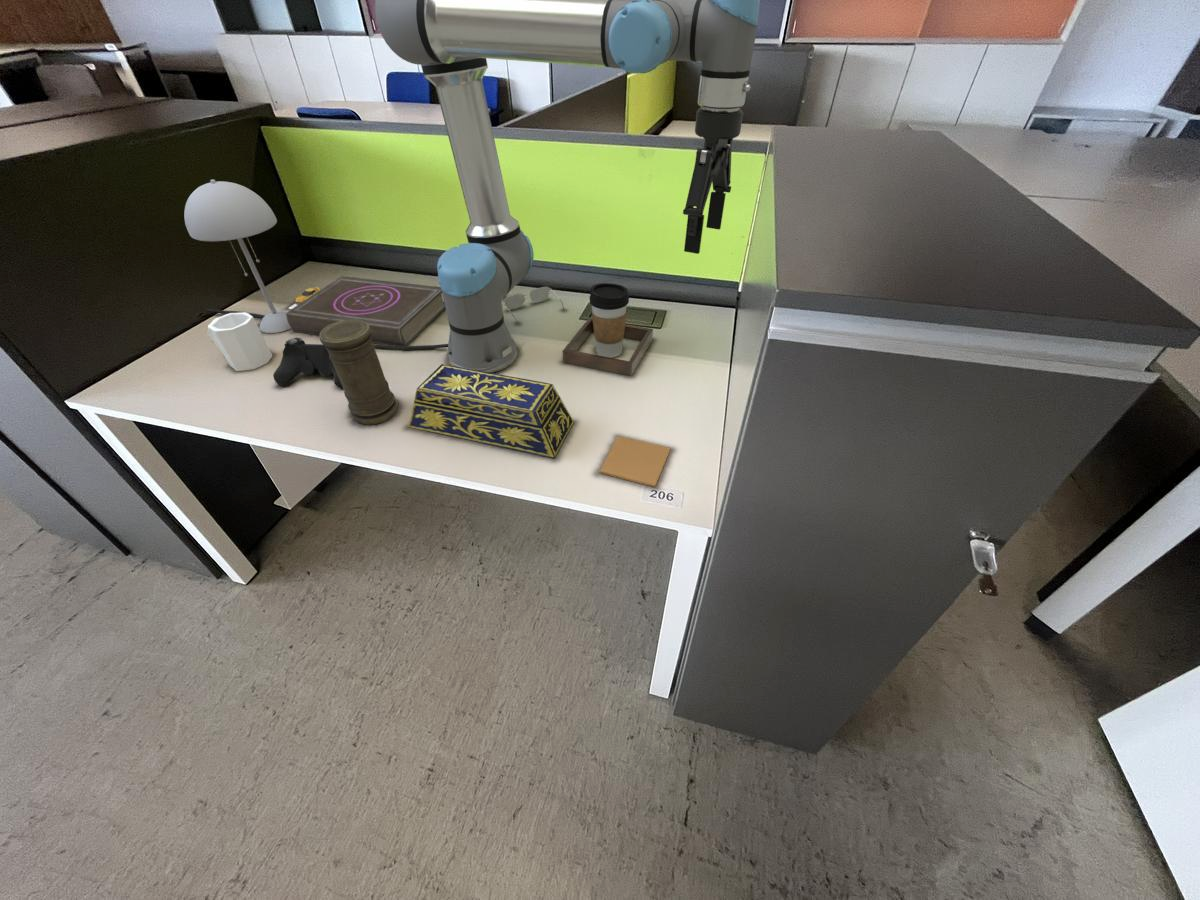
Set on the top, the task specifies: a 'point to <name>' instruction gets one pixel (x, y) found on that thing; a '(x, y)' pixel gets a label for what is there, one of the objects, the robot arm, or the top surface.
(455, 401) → the decorative box
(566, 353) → the wooden square frame
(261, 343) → the mug
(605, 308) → the coffee cup
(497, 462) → the top surface
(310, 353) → the game controller
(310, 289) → the toy car
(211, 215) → the lamp
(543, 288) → the eyeglasses
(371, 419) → the container
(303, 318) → the book
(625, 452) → the coaster
